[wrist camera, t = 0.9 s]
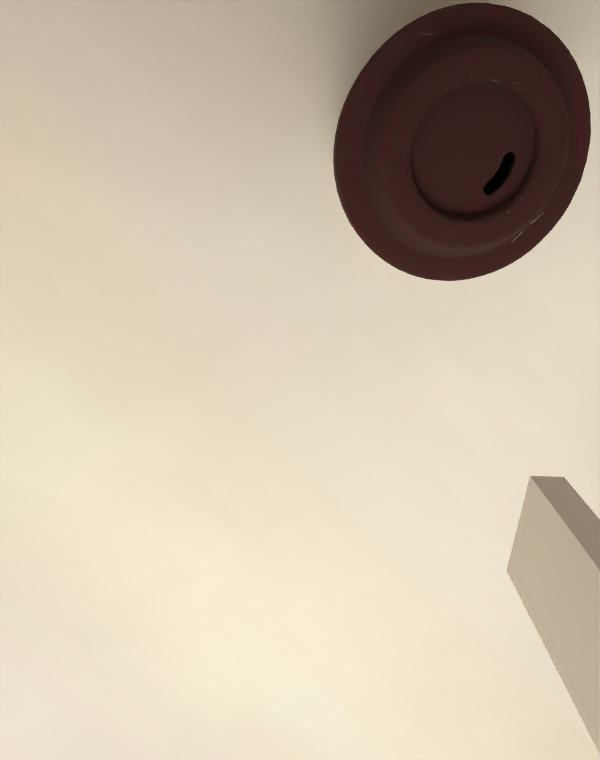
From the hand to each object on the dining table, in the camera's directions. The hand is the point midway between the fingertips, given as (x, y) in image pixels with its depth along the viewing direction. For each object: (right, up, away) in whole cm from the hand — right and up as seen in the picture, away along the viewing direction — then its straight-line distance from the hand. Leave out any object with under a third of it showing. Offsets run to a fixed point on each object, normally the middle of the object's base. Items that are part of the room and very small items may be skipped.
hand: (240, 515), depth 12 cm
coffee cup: (+8, +17, +21) cm, 28 cm away
